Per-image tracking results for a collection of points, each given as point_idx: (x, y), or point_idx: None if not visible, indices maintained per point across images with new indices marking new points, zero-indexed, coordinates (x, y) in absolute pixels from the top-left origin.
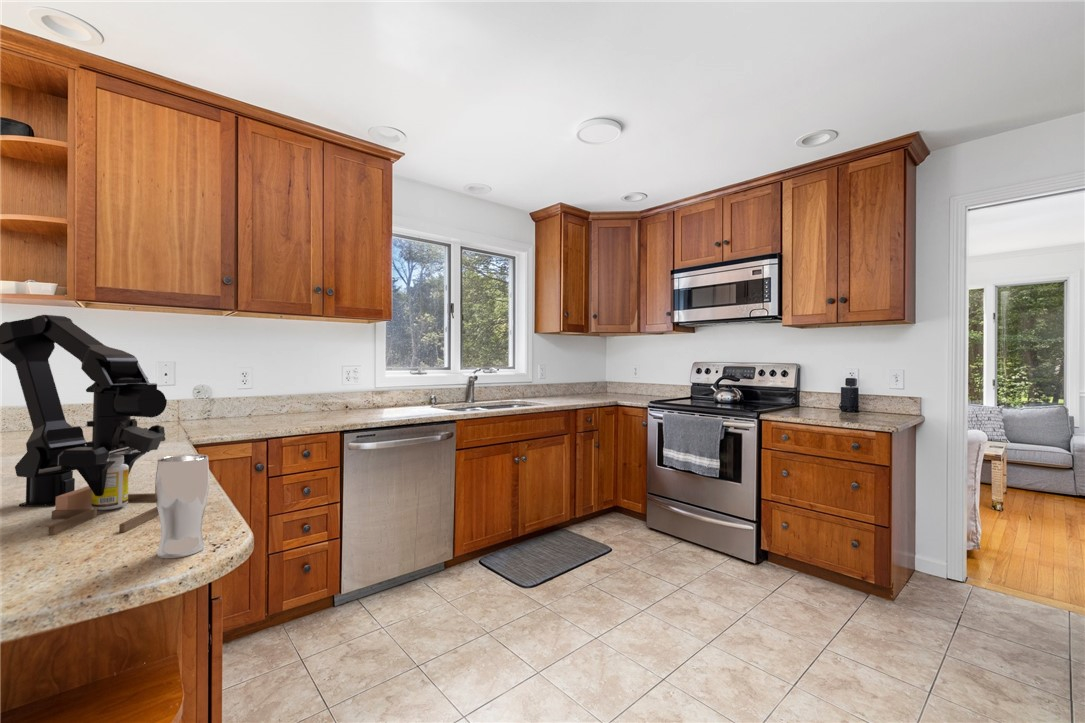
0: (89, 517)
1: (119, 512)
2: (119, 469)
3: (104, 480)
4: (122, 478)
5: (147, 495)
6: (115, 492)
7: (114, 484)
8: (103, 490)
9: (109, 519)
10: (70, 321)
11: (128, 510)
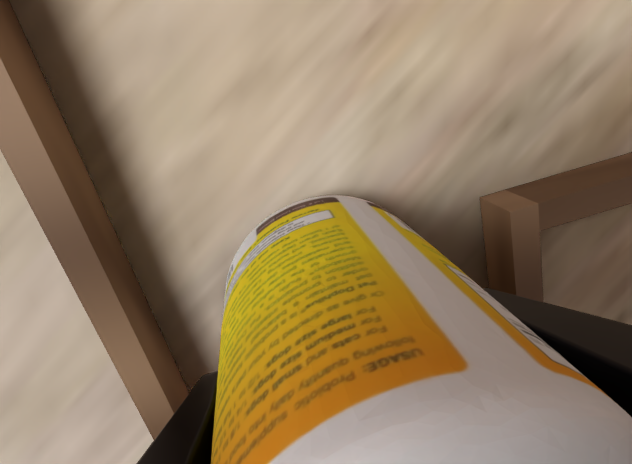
0: (548, 184)
1: (383, 144)
2: (557, 402)
3: (613, 339)
4: (421, 292)
5: (81, 213)
6: (422, 240)
7: (469, 284)
8: (501, 304)
9: (532, 61)
10: None
11: (333, 124)
